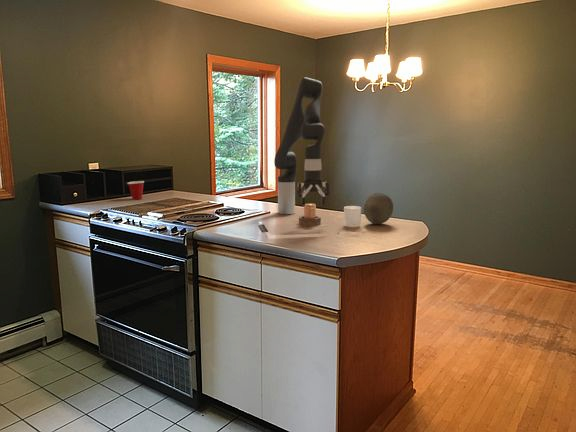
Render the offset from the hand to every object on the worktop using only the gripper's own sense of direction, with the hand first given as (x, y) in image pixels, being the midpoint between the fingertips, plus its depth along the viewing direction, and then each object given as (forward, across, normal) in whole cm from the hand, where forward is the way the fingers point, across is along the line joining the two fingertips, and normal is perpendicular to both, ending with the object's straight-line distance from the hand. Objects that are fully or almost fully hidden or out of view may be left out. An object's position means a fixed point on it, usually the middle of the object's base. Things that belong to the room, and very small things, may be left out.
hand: (313, 205), depth 207 cm
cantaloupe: (+11, -33, -4) cm, 35 cm away
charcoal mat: (+11, +17, -5) cm, 21 cm away
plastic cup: (+10, +93, -120) cm, 152 cm away
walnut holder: (+11, 0, -5) cm, 12 cm away
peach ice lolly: (+9, 0, -4) cm, 10 cm away
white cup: (+11, -18, +3) cm, 21 cm away
